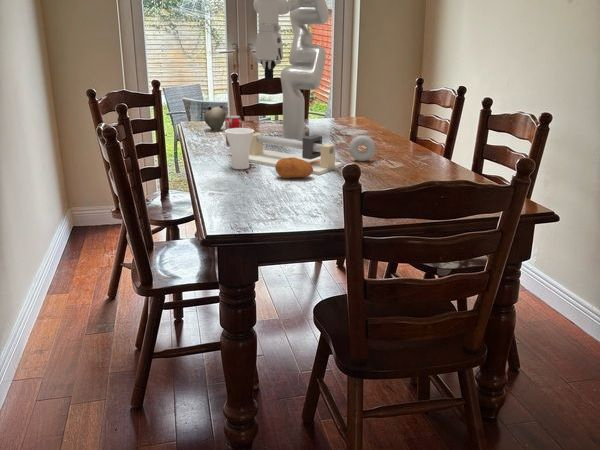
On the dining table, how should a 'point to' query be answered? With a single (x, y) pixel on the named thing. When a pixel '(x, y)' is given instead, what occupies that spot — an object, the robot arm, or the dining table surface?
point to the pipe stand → (273, 157)
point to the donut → (358, 141)
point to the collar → (311, 146)
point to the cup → (240, 146)
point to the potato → (293, 168)
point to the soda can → (232, 123)
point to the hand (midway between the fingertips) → (268, 79)
